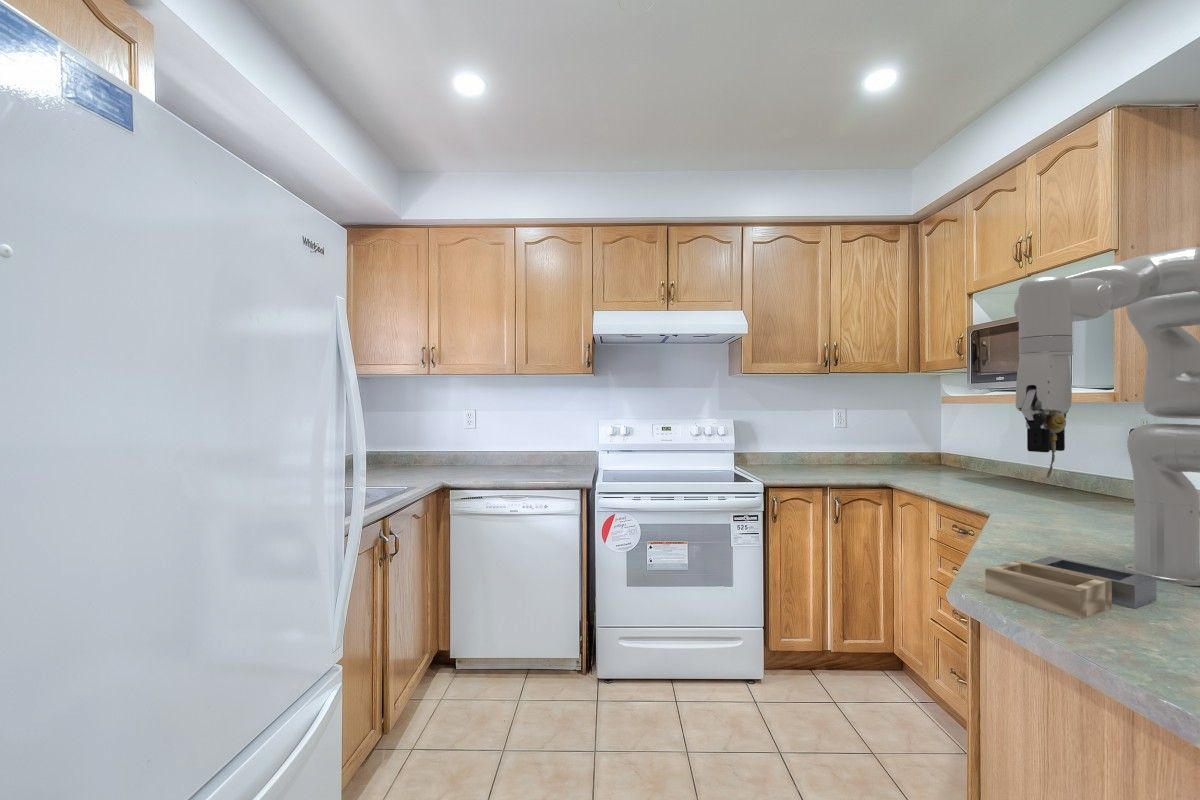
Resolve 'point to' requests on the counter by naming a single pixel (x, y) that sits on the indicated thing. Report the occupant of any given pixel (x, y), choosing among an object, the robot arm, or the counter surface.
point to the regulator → (1054, 431)
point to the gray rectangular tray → (1112, 581)
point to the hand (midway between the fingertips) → (1046, 449)
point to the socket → (1050, 588)
